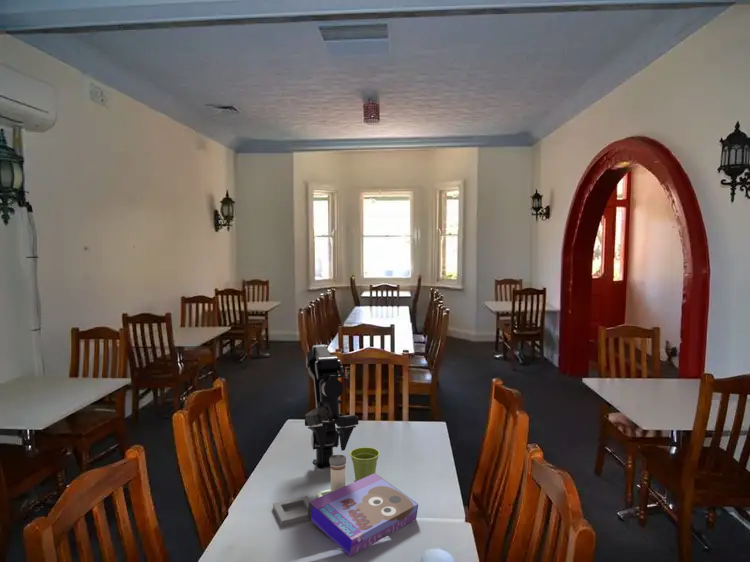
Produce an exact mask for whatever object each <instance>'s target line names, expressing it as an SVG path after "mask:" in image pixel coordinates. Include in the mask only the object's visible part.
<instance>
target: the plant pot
mask: <svg viewBox="0 0 750 562" xmlns="http://www.w3.org/2000/svg"><path fill="white" fill-rule="evenodd" d="M349 456H350V457H351V462H352V464H353V473H354V479H355V482H356V481H358V480H360V479H362V478H365V477H367V476H369V475H371V474H374V473H376V469H377V463H378V462H377V461H378V459H379V456H380V451H379V450H378V449H376V448H375V447H374V448H373V447H367V446H362V447H357V448H354V449H352V450H351V451H350V452H349Z"/></svg>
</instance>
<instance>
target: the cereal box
mask: <svg viewBox="0 0 750 562" xmlns="http://www.w3.org/2000/svg"><path fill="white" fill-rule="evenodd" d="M418 509H419V503H417V502H416V501H414V499H412V498H410V497H409V496H408V495H406V494H405V493H404V492H402V491H401V490H400V489H398V488H397V487H396V486H394V485H393V484H391V483H390V482H388V481H387V480H385V479H384V478H383V477H382V476H380V475H379V474H378V473H376V472H375V473H374V474H371V475H369V476H367V477H365V478H362V479H360V480H358V481H356V480H355V481H353V482H351V483H349V484H346V485H345V486H344V487H342V488H340V489H337V490H335V491H333V492H331V493H328V494H326V495H324V496H322V497H319V498H317V497H316V498H315V499H313V500H310V502H309V507H308V518H309V519H310V520H309V521H311V522H312V523H313V524H314V525H315V526H317V528H319V530H321V531H322V532H323V533H324V534H325V535H326V536H327V537H328V538H329V539H330V540H331V541H332V542H334V544H336V545H337V546H339V548H340V549H341V550H342V551H343V552H345V554H347V555H348V556H349V557H352V556H354V555H356V554H357V553H359V552H361V551H363V550H365V549H367V548H369V547H370V546H372V545H373V544H376V543H377V542H378V541H380V540H383V539H384V538H386V537H388V536H389V533H390V534H394V533H395V532H396V531H398V530H400V529H401V528H403V527H405V526H407V525H409V524H410V523H412V522H414V521H416V520H417V517H418ZM387 533H388V534H387Z"/></svg>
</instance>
